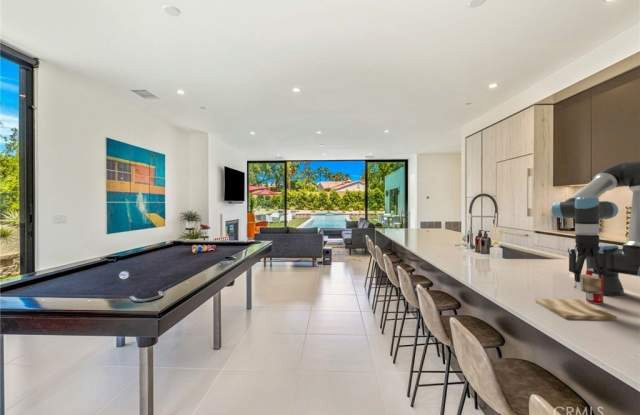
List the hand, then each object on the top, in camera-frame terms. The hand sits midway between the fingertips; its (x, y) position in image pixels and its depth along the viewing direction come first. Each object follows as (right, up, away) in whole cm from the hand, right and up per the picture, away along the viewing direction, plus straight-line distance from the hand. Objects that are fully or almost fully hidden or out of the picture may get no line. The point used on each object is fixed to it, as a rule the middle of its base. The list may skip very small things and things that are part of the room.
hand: (587, 289), depth 125 cm
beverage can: (+12, -9, +10) cm, 18 cm away
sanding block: (0, 0, 0) cm, 0 cm away
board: (-5, -9, +1) cm, 10 cm away
